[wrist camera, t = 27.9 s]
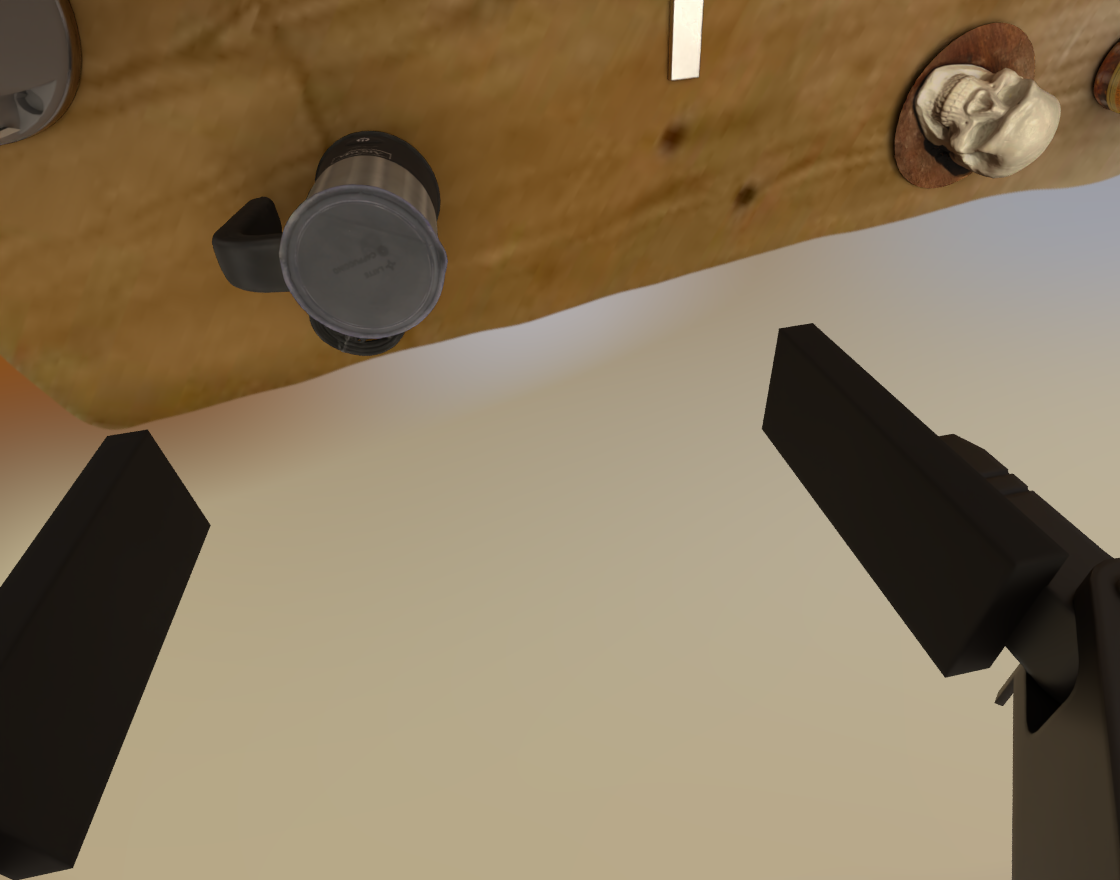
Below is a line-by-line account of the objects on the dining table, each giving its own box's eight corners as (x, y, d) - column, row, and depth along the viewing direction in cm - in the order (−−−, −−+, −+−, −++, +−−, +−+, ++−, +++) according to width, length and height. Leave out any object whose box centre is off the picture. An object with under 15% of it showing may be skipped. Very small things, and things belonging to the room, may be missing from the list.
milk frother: (406, 107, 42) (397, 156, 31) (494, 296, 52) (512, 387, 41) (231, 186, 43) (158, 261, 32) (349, 356, 53) (327, 461, 42)
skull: (859, 156, 49) (996, 83, 40) (881, 55, 51) (1016, -37, 42) (943, 227, 54) (1083, 176, 45) (960, 131, 56) (1097, 64, 47)
